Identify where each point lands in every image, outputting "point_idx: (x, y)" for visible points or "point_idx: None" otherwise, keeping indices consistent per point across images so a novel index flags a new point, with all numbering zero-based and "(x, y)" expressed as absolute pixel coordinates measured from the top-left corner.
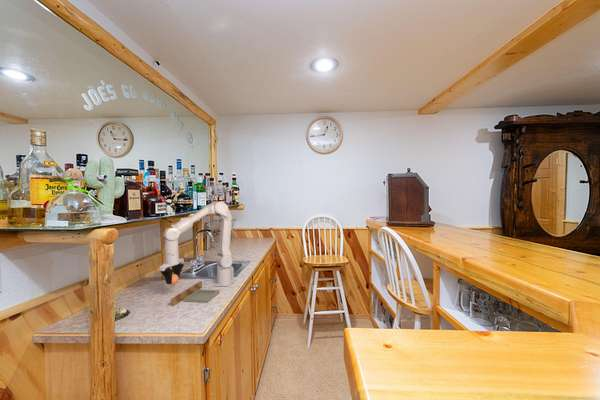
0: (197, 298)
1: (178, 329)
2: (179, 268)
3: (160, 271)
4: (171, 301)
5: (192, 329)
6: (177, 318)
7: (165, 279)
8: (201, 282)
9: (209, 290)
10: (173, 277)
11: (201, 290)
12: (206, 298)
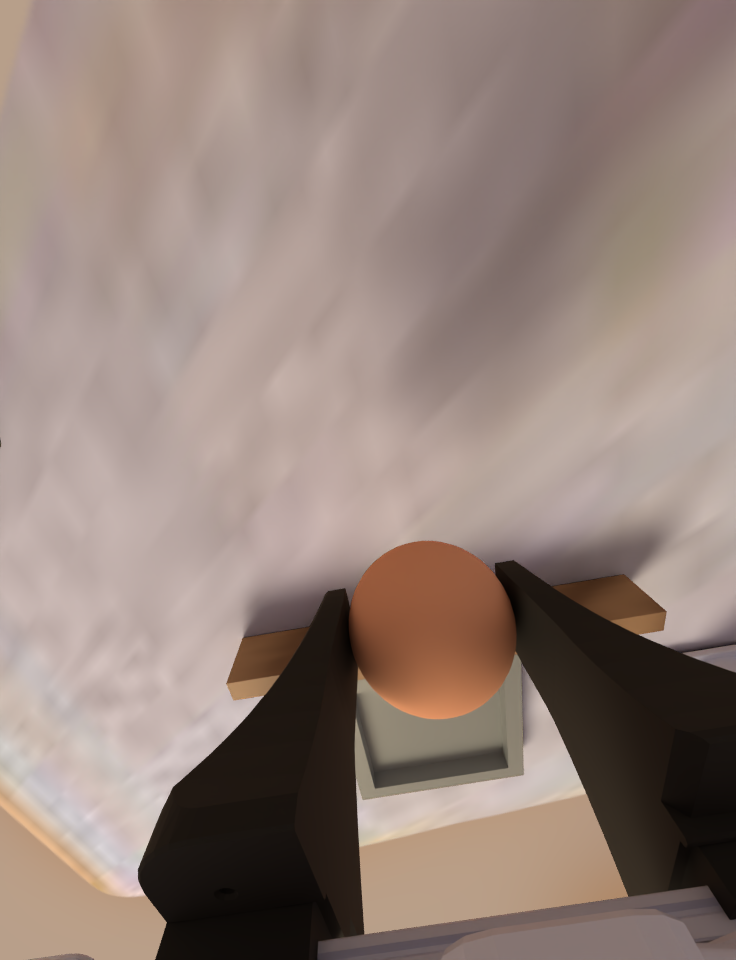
0: (360, 750)
1: (80, 832)
2: (603, 822)
3: (169, 795)
4: (233, 668)
5: (116, 866)
6: (146, 770)
7: (306, 642)
8: (650, 625)
9: (509, 731)
10: (395, 706)
11: (504, 684)
12: (407, 753)
